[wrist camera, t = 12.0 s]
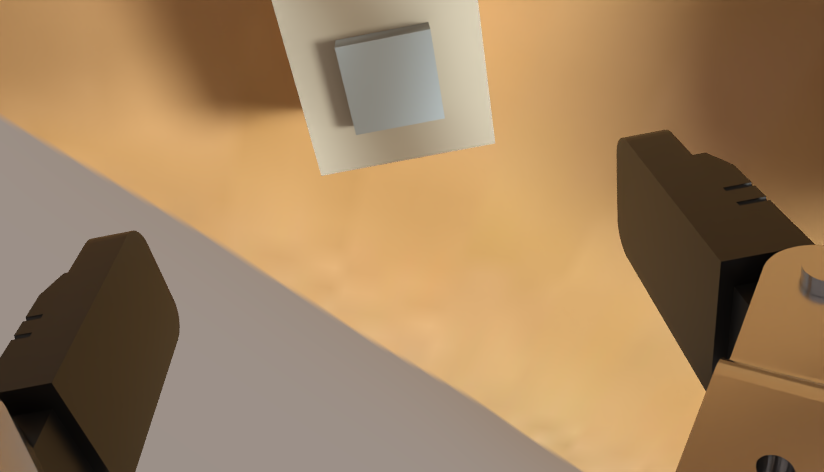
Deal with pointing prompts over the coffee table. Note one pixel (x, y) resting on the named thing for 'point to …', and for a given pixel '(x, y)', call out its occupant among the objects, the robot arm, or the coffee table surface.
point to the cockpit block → (387, 78)
